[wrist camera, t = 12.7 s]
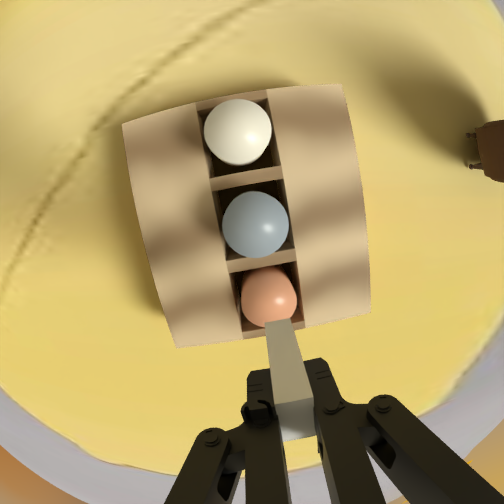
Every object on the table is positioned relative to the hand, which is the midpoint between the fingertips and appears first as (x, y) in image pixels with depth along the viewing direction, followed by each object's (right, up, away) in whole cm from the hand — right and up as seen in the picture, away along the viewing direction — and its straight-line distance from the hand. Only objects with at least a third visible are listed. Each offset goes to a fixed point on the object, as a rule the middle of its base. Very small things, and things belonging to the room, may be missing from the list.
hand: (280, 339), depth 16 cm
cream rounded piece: (-3, +14, +5) cm, 15 cm away
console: (-2, +9, +10) cm, 14 cm away
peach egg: (0, +2, +10) cm, 11 cm away
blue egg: (-2, +8, +7) cm, 11 cm away
